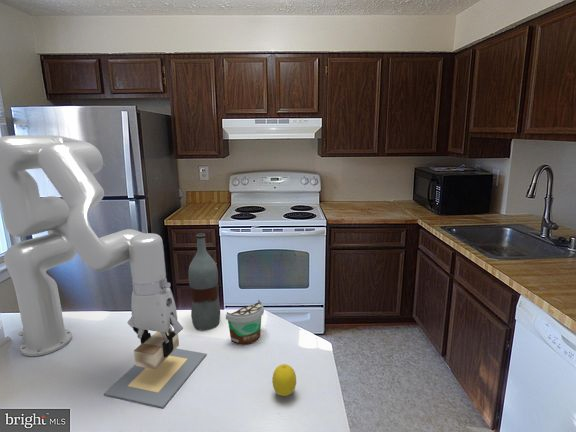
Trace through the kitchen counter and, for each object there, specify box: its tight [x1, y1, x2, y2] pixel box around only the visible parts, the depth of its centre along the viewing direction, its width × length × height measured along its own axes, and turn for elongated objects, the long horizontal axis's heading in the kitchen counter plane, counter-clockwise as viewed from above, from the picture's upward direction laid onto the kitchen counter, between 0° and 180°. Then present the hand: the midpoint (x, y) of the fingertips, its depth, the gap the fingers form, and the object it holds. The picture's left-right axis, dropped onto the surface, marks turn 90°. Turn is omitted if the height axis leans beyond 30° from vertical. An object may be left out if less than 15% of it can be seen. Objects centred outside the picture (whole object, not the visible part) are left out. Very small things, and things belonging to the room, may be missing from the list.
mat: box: [103, 347, 208, 410], centre depth 89 cm, size 16×20×1 cm
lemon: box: [271, 363, 297, 397], centre depth 81 cm, size 6×6×8 cm
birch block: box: [133, 331, 180, 369], centre depth 87 cm, size 6×10×4 cm, turn 165°
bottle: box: [187, 233, 221, 331], centre depth 109 cm, size 9×9×30 cm
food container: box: [225, 299, 265, 346], centre depth 102 cm, size 12×6×10 cm, turn 131°
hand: (157, 351), depth 88 cm, fingers closed on birch block, 5 cm apart
